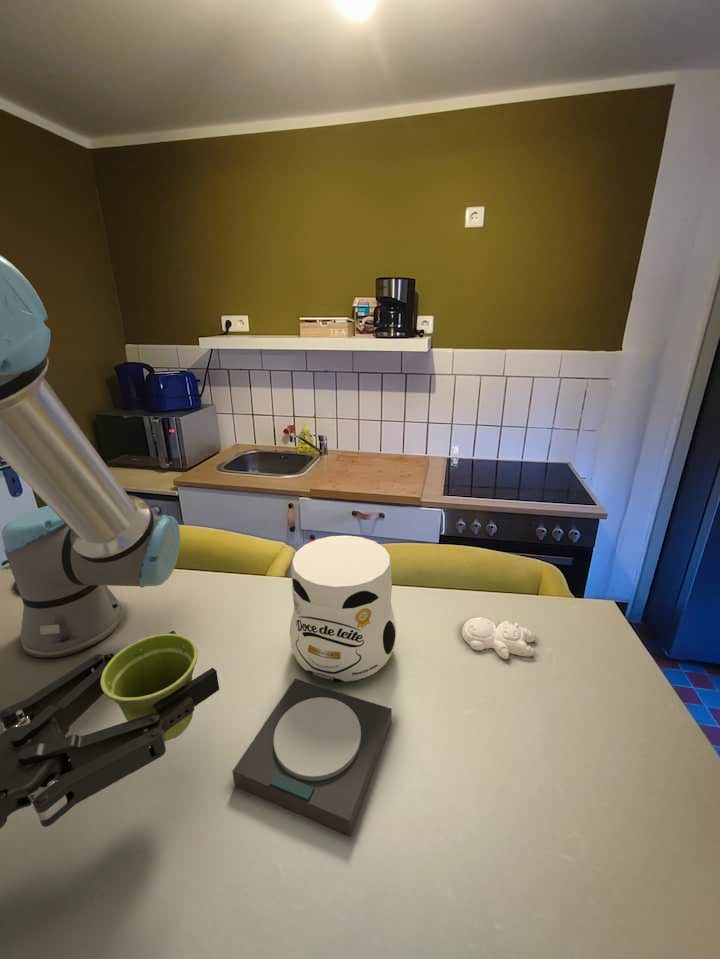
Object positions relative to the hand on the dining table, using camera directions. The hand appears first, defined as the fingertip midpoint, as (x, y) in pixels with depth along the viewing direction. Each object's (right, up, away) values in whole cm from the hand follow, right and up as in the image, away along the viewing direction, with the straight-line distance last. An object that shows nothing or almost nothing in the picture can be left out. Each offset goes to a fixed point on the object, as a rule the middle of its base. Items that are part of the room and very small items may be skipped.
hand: (195, 658), depth 50 cm
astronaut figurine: (+43, -7, +24) cm, 50 cm away
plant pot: (-3, -7, -1) cm, 8 cm away
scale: (+14, -14, +5) cm, 21 cm away
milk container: (+17, -8, +22) cm, 29 cm away
